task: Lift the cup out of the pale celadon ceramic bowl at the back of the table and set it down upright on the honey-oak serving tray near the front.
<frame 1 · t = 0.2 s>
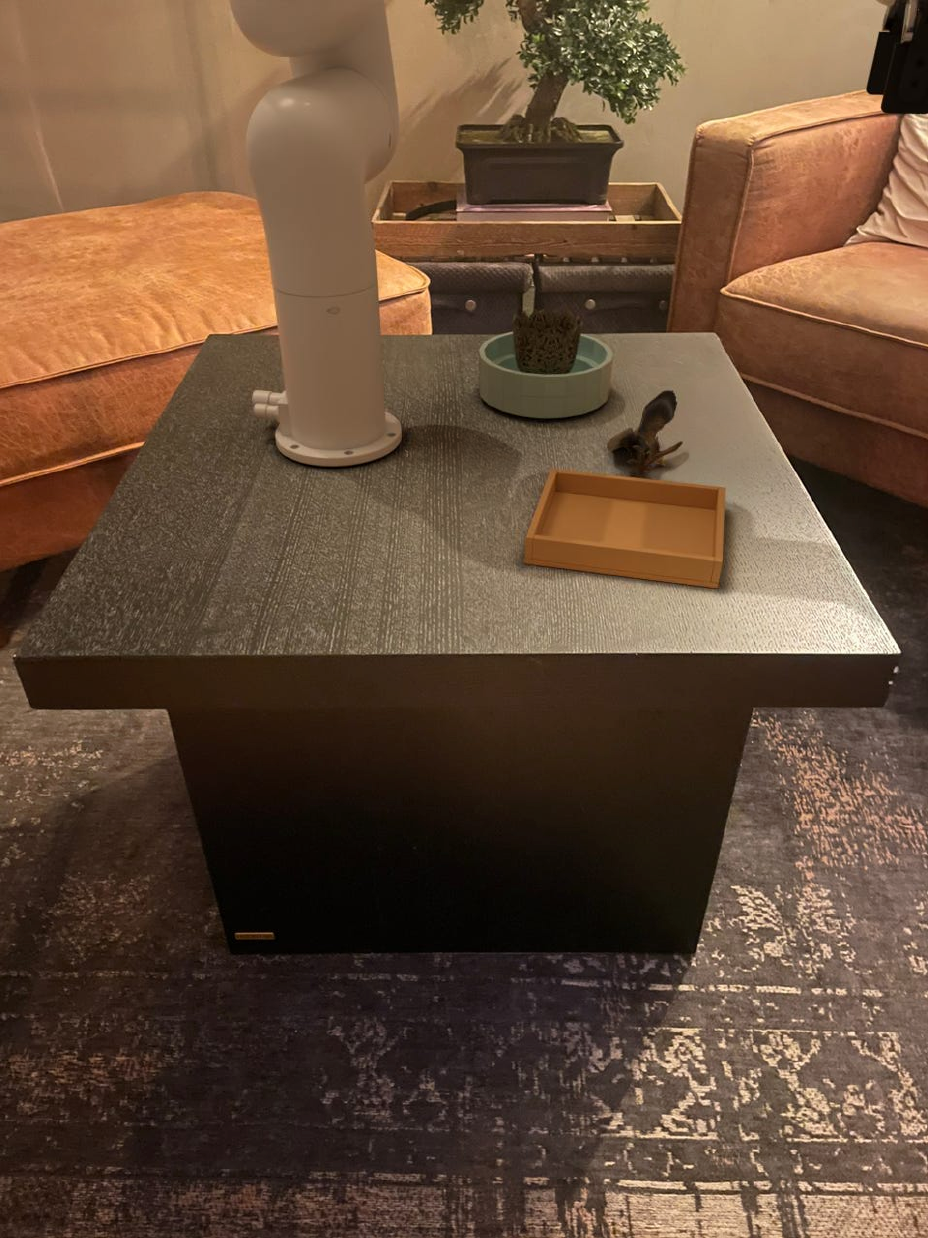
hand: (895, 103, 65), 31 cm above the table, tool pointing down, fingers open, 9 cm apart
tray: (626, 536, 77), on the table
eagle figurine: (641, 465, 88), on the table
cup: (543, 392, 101), resting in bowl
bowl: (543, 395, 101), on the table
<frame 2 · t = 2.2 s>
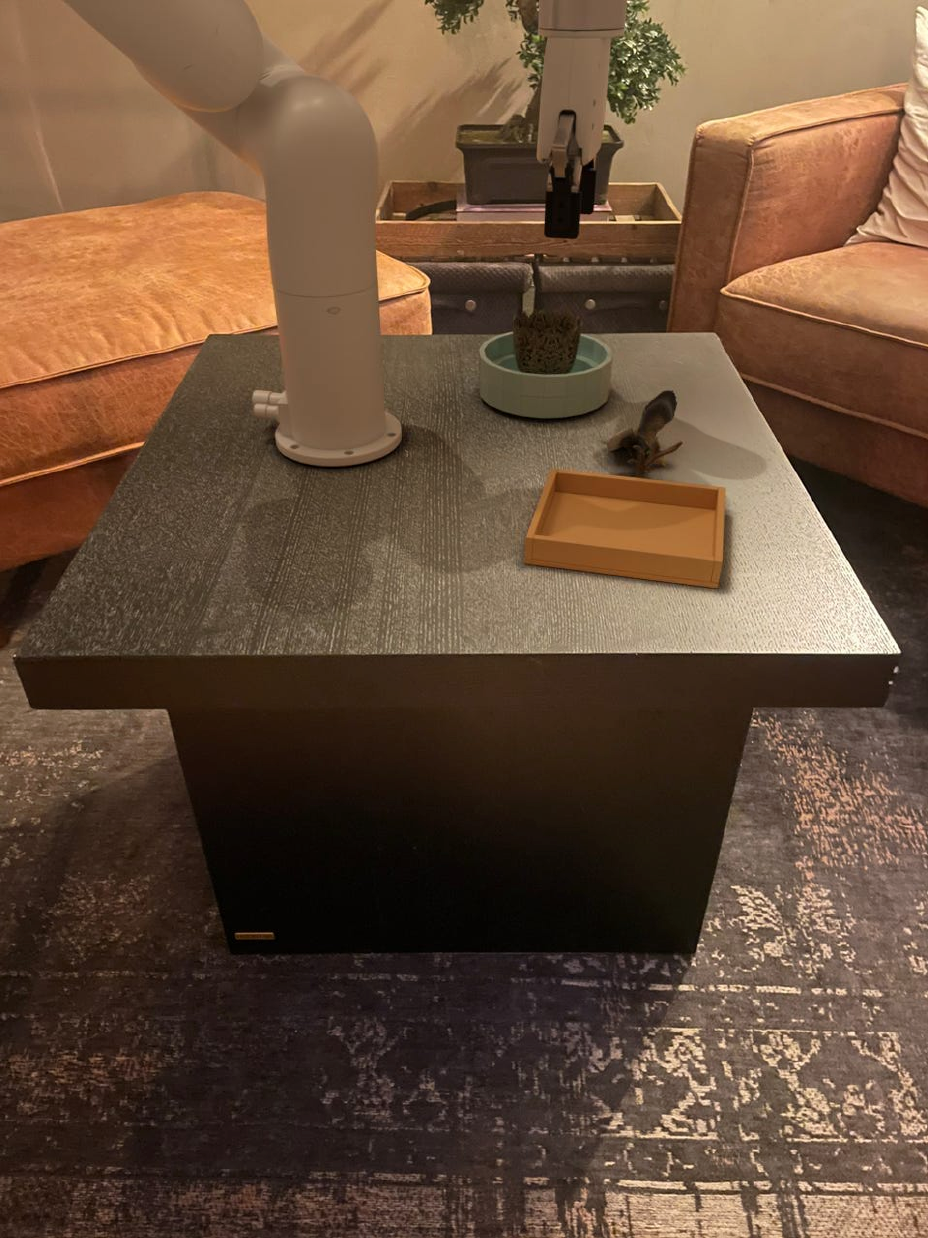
hand: (569, 224, 90), 18 cm above the table, tool pointing down, fingers open, 9 cm apart
nothing on the table moved.
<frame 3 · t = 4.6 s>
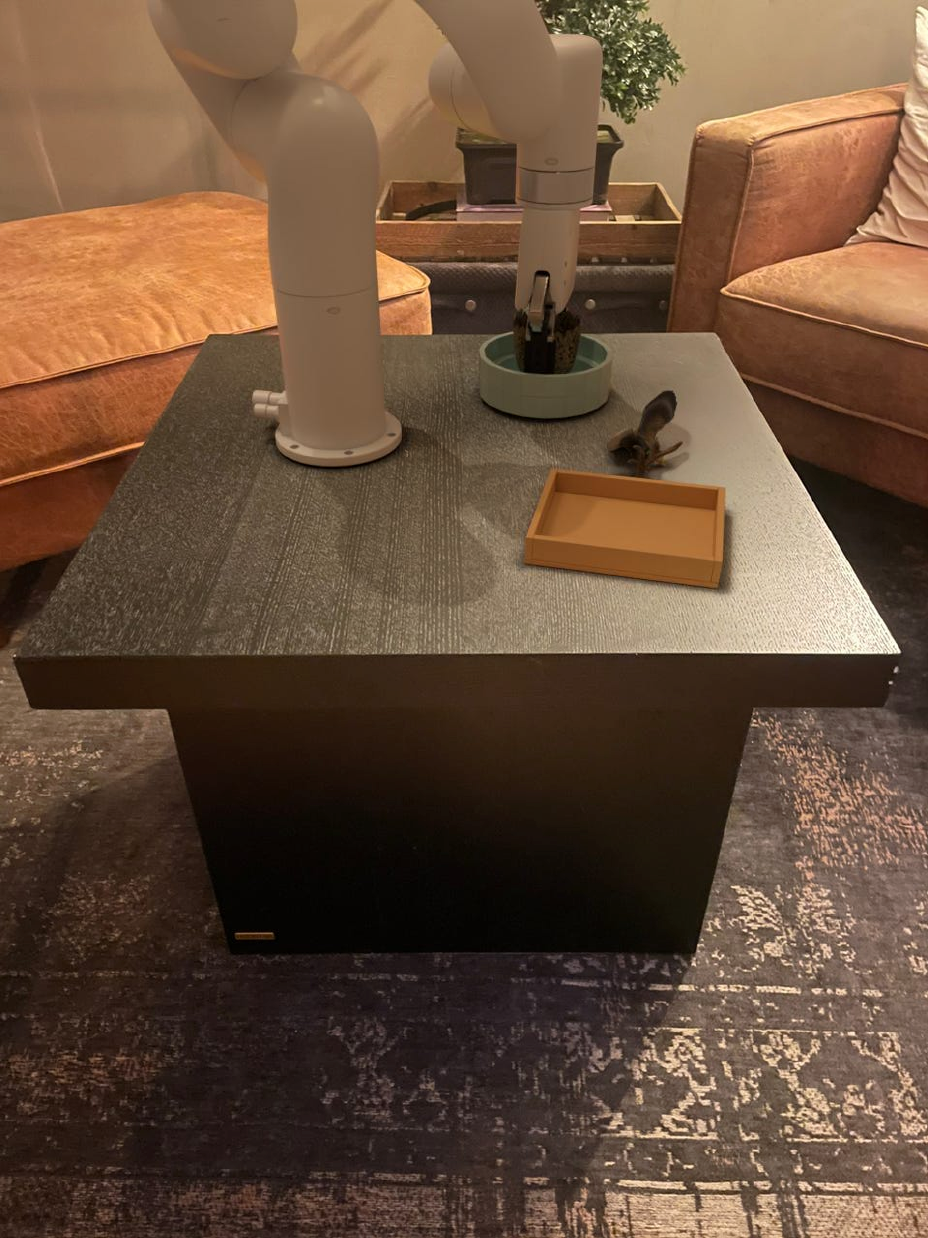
hand: (545, 361, 99), 4 cm above the table, tool pointing down, fingers closed on cup, 7 cm apart
cup: (543, 392, 101), resting in bowl, touching gripper
everything else where it was.
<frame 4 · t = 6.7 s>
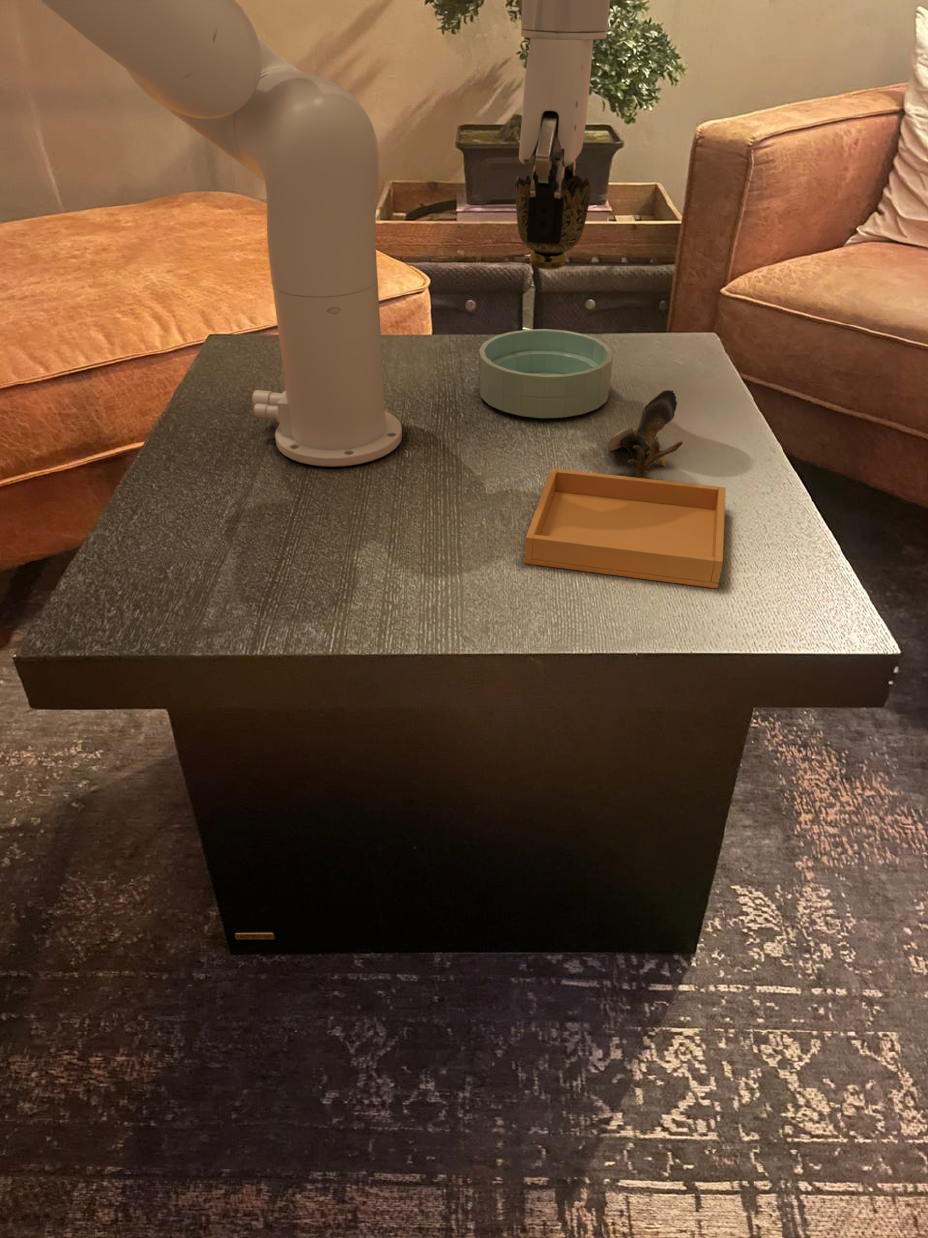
hand: (550, 231, 90), 18 cm above the table, tool pointing down, fingers closed on cup, 7 cm apart
cup: (547, 268, 92), point 14 cm above the table, touching gripper
everything else where it was.
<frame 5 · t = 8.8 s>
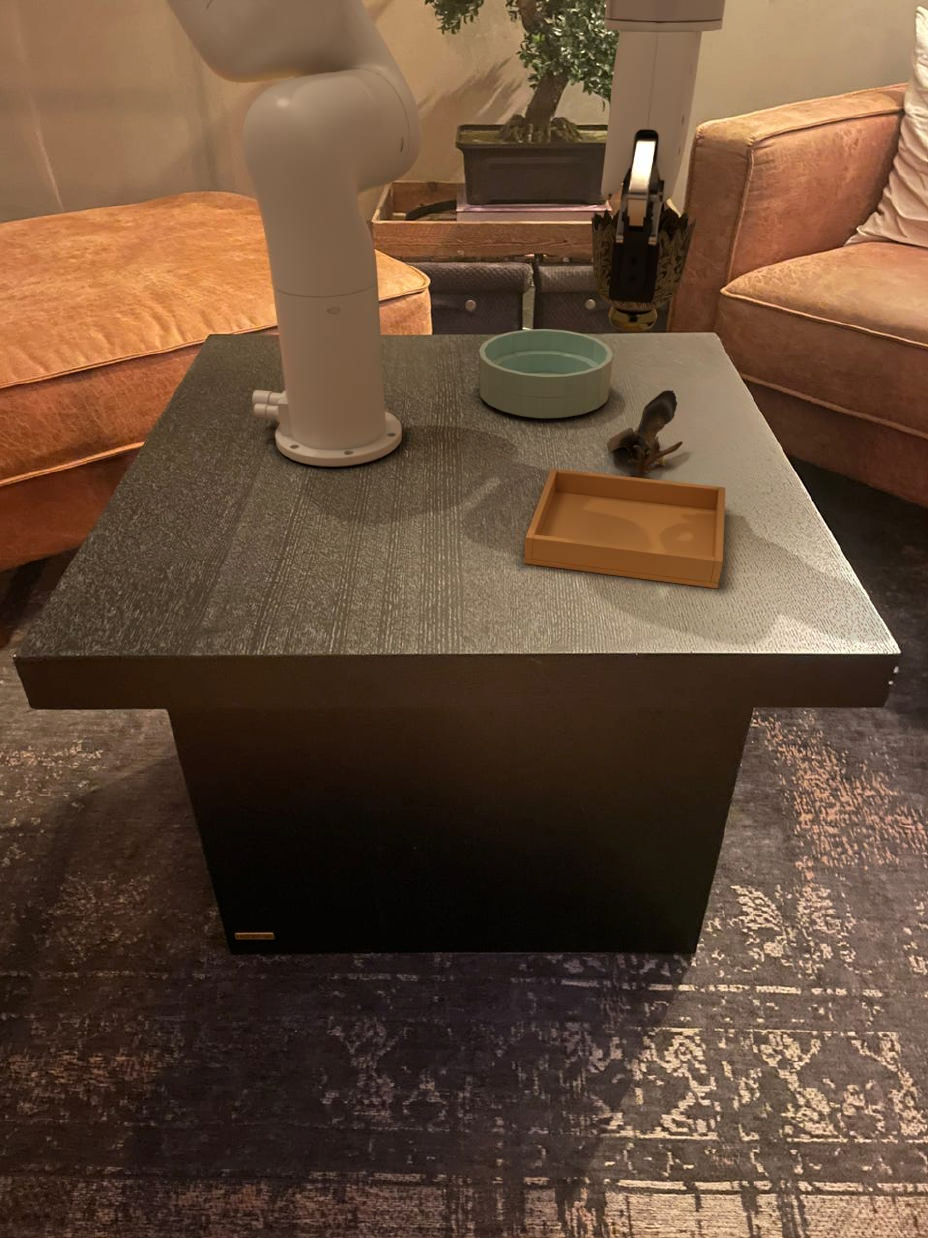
hand: (635, 282, 69), 20 cm above the table, tool pointing down, fingers closed on cup, 7 cm apart
cup: (631, 328, 71), point 16 cm above the table, touching gripper
everything else where it was.
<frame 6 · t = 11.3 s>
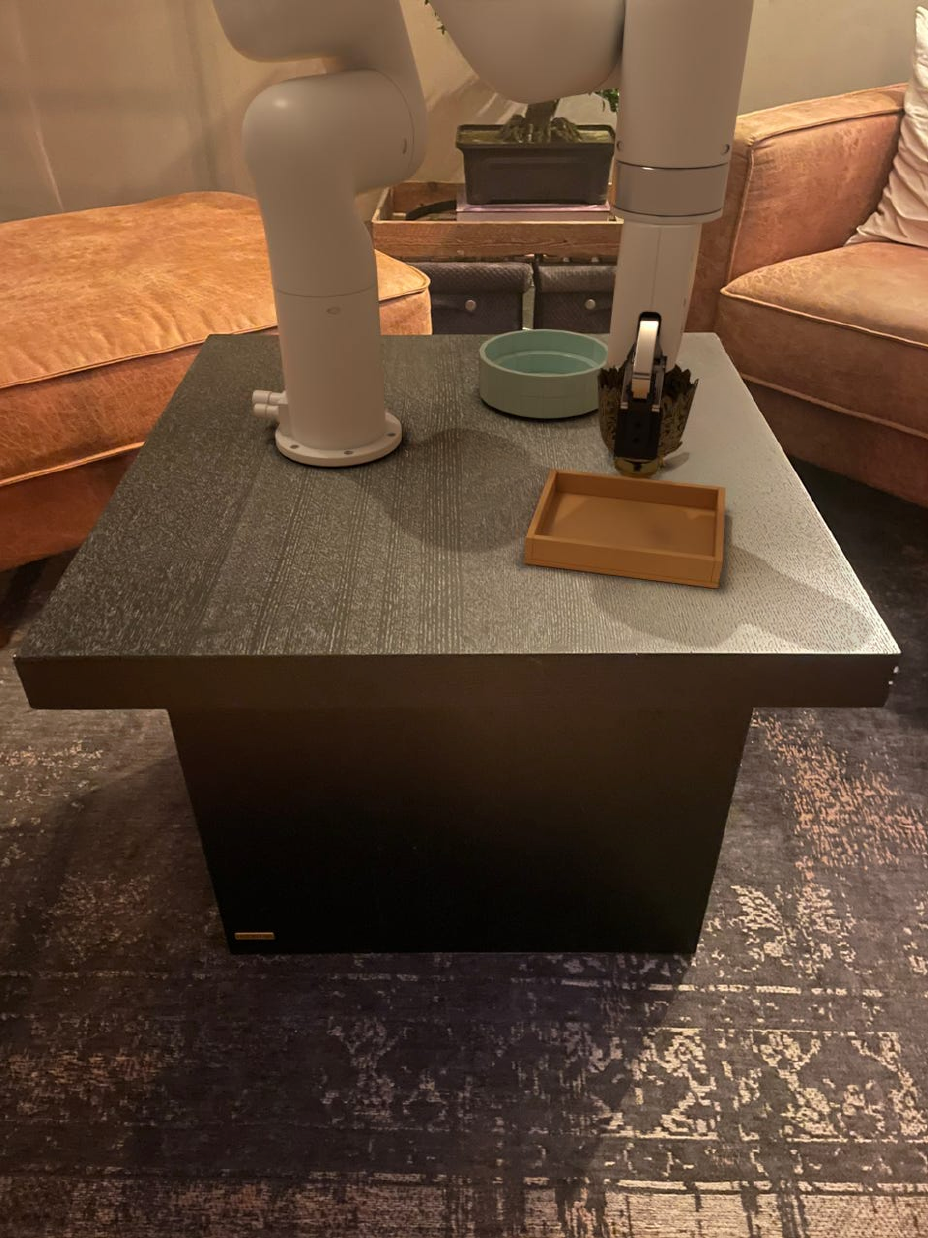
hand: (640, 433, 72), 9 cm above the table, tool pointing down, fingers closed on cup, 7 cm apart
cup: (635, 473, 74), point 6 cm above the table, touching gripper
everything else where it was.
when the fingers open (4 cm above the table, at t = 13.3 s): cup stays where it is, resting on tray.
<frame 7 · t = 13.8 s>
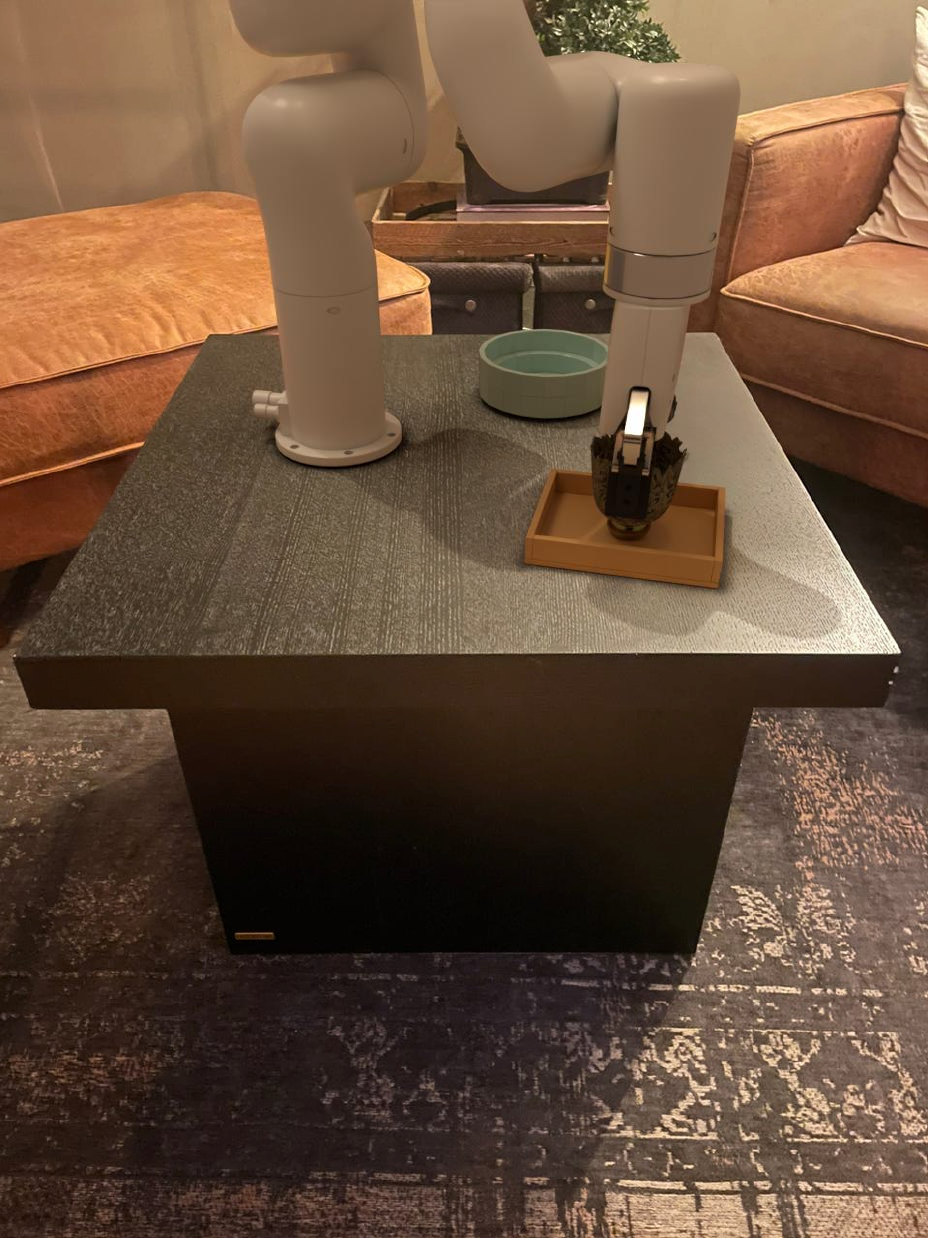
hand: (631, 486, 74), 5 cm above the table, tool pointing down, fingers open, 9 cm apart
cup: (627, 533, 77), resting on tray
everything else where it was.
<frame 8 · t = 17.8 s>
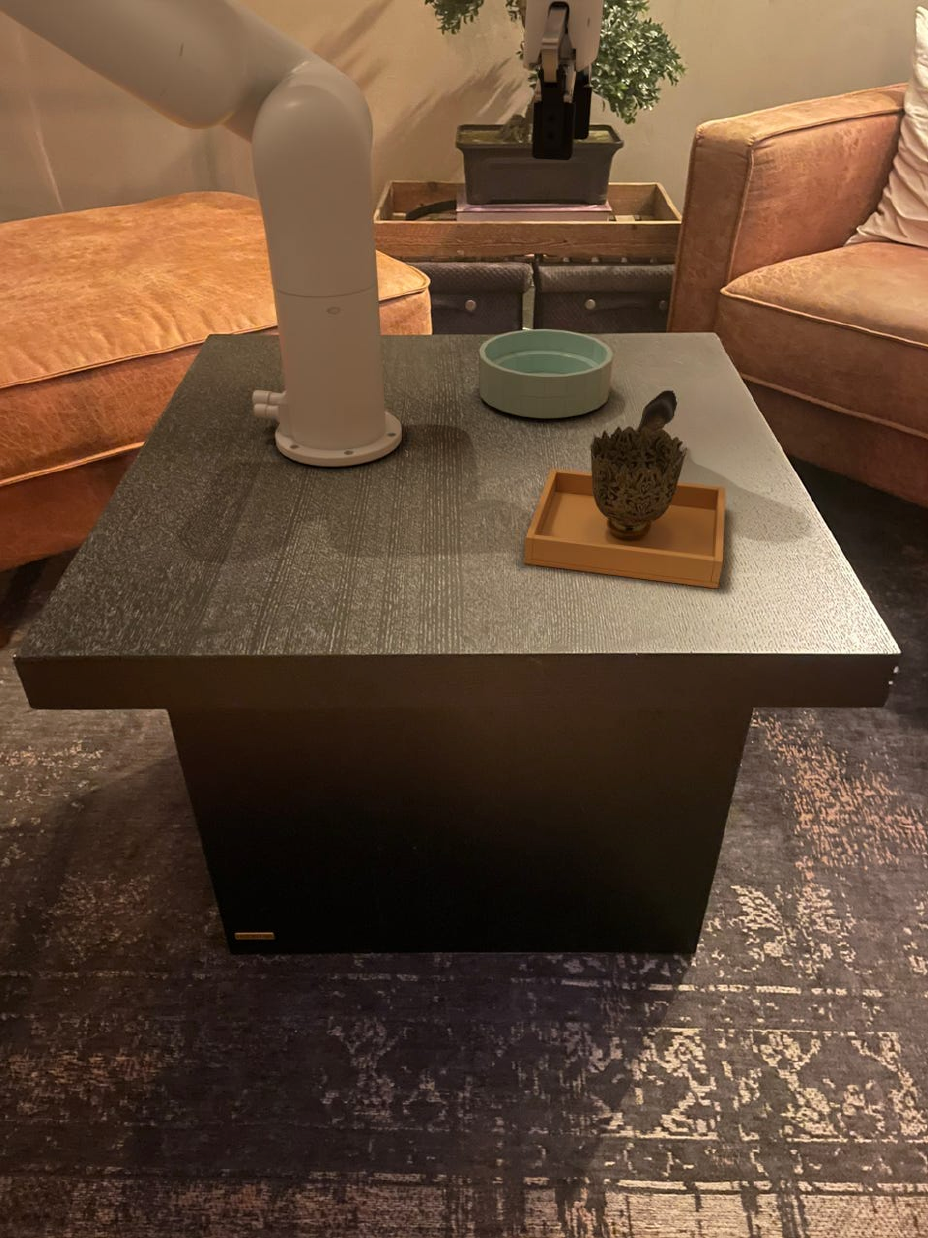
hand: (561, 148, 78), 26 cm above the table, tool pointing down, fingers open, 9 cm apart
nothing on the table moved.
at the end: cup inside the target area in the tray (0.0 cm from its centre), point 0.3 cm above the tray's base; cup tilted 0°; the gripper is holding nothing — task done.
